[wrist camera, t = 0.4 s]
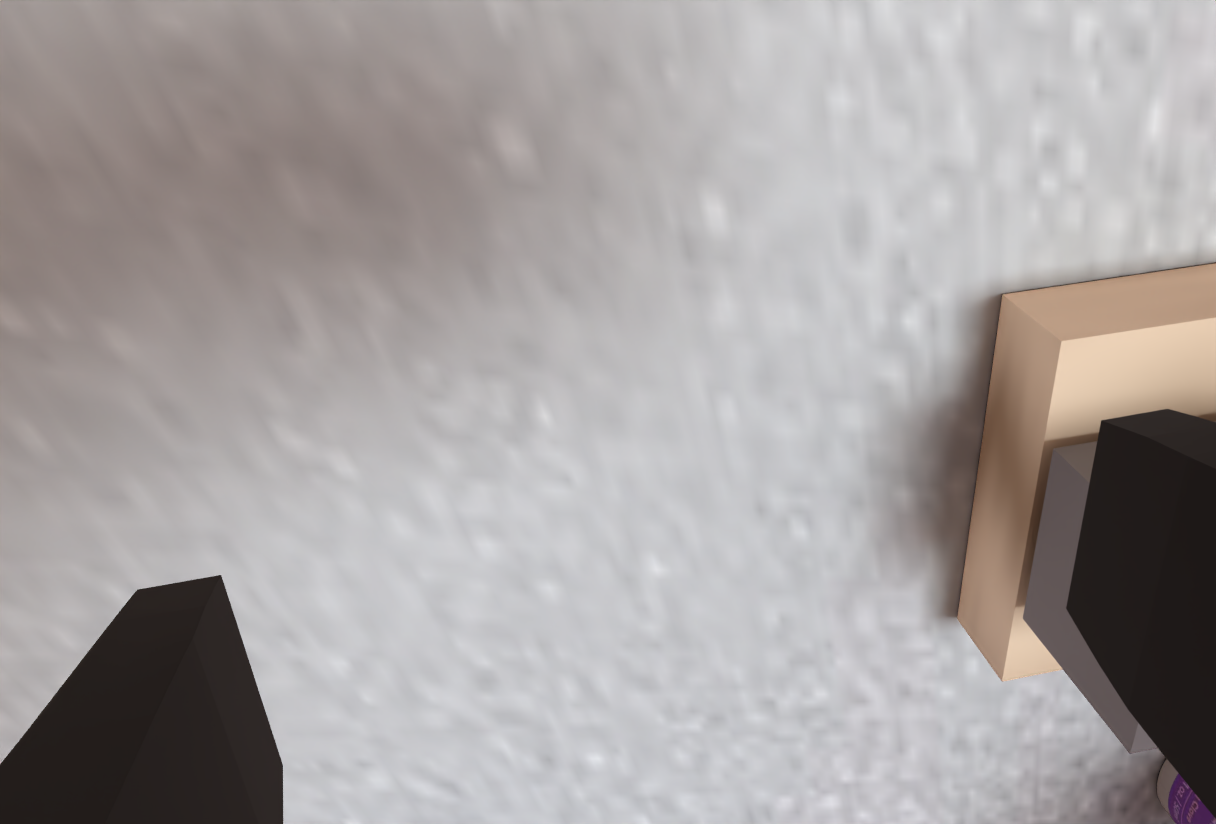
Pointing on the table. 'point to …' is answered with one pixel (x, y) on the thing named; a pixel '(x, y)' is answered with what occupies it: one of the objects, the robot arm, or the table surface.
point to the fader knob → (1053, 588)
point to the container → (1181, 798)
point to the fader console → (1071, 421)
